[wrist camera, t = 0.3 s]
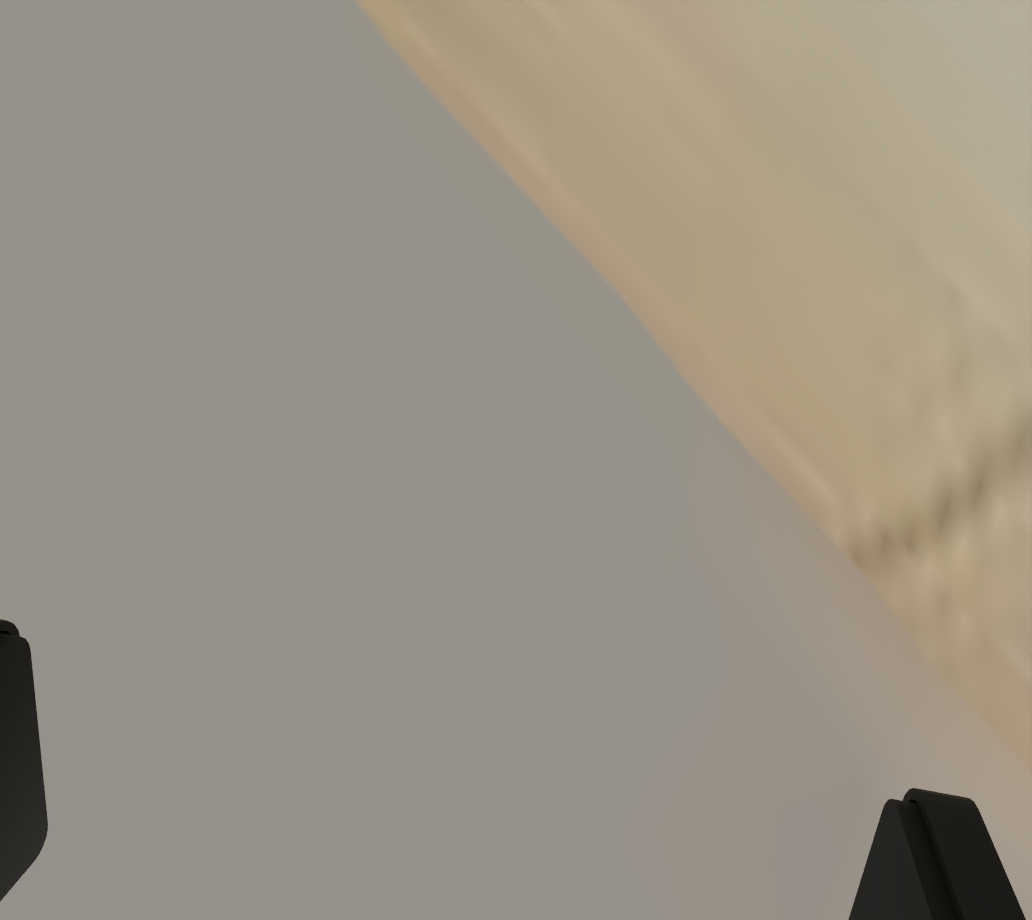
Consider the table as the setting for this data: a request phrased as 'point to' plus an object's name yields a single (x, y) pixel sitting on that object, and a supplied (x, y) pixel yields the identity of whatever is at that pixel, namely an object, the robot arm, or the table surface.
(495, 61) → the table surface
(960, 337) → the table surface
